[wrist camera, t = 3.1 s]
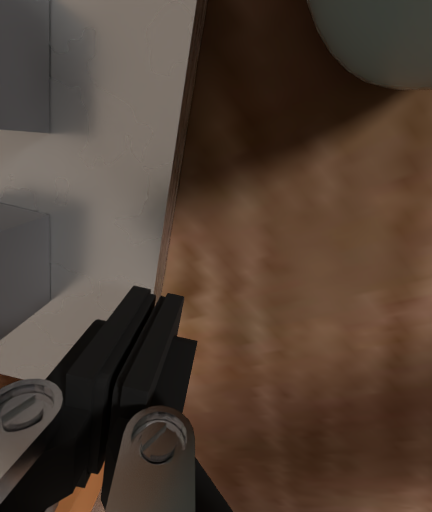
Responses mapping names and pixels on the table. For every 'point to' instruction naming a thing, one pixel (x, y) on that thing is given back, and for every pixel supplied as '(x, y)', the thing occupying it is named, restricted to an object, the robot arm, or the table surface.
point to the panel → (102, 163)
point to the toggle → (24, 65)
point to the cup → (379, 39)
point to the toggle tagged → (23, 265)
